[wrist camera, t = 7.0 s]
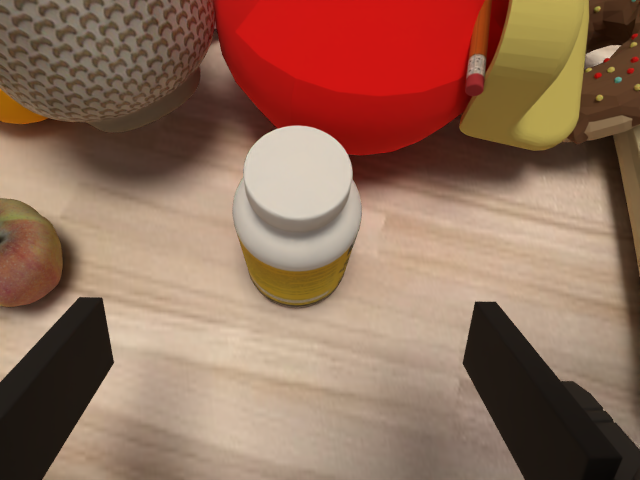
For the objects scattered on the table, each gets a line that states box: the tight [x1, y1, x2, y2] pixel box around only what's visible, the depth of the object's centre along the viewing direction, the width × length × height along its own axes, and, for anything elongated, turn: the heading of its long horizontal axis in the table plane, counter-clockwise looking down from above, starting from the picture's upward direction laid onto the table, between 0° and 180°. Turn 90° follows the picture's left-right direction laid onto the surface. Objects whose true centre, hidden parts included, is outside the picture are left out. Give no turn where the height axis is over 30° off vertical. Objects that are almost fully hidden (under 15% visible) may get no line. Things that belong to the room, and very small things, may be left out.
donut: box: [562, 0, 640, 145], centre depth 31 cm, size 14×14×5 cm
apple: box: [0, 198, 63, 307], centre depth 25 cm, size 6×8×6 cm
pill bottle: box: [233, 126, 362, 307], centre depth 24 cm, size 6×6×12 cm
